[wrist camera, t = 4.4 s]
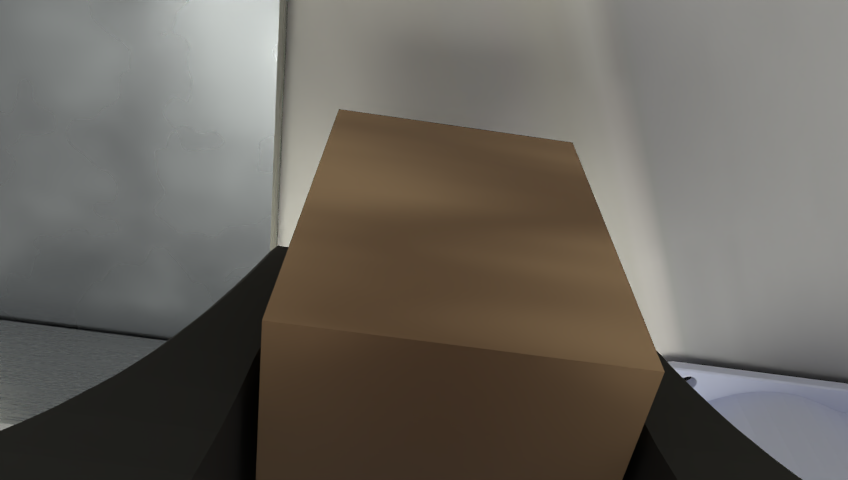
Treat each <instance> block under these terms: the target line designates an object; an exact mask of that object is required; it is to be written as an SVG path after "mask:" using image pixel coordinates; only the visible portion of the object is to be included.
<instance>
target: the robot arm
mask: <svg viewBox="0 0 848 480" xmlns="http://www.w3.org/2000/svg"><path fill="white" fill-rule="evenodd" d="M288 248H289V247H282V246H277V247H275V248H274V249H272V250H271V251H270V252H269V253H268V254H267V255H266V256H265V257H264V258H263V259H262V260H261V261H260V262H259V263H258V264H257V265H256V266H255V267H254V268H253V269H252V270H251V271H250V272H249V273H248V274H247V275H246V276H245V277H244V278H243V279H241V280H240V281H239V282H238V283H237V284H236V285H235V286H234V287H233V288H232V289H231V290H229V291H228V292H227V293H226V294H225V295H224V296H223V297H221V298H220V299H219V300H218V301H217V302H216V303H215V304H213V305H212V306H211V307H210V308H209V309H208V310H207V311H205V312H204V313H203V314H202V315H200V316H199V317H198V318H197V319H195V320H194V321H193V322H191V323H190V324H189V325H188V326H186V327H185V328H184V329H182V330H181V331H180V332H178V333H177V334H176V335H175V336H173V337H172V338H171V339H169V340H168V341H167V342H165V343H164V344H162V345H161V346H160V347H158V348H157V349H155V350H154V351H152V352H151V353H149V354H148V355H146V356H145V357H143V358H142V359H140V360H139V361H137V362H136V363H134V364H133V365H131V366H129V367H128V368H126V369H125V370H123V371H121V372H120V373H118V374H116V375H114V376H113V377H111V378H109V379H107V380H105V381H103V382H101V383H100V384H98V385H96V386H94V387H92V388H90V389H88V390H86V391H84V392H82V393H80V394H78V395H77V396H75V397H73V398H71V399H69V400H67V401H65V402H63V403H61V404H59V405H57V406H55V407H53V408H51V409H49V410H47V411H45V412H42V413H40V414H38V415H36V416H33V417H31V418H29V419H27V420H24V421H22V422H20V423H18V424H15V425H13V426H10V427H8V428H6V429H3V430H1V431H0V480H256V461H257V435H258V410H259V384H260V359H261V333H262V319H263V316H264V314H265V311H266V308H267V305H268V303H269V300H270V297H271V294H272V292H273V289H274V286H275V283H276V281H277V278H278V275H279V272H280V270H281V267H282V264H283V261H284V259H285V256H286V253H287V250H288ZM656 352H657V351H656ZM657 354H658V356H659V359H660V361H661V364H662V366H663V369H664V371H665V372H664V375H663V378H662V380H661V383H660V385H659V388H658V390H657V393H656V395H655V398H654V400H653V403H652V405H651V408H650V411H649V413H648V416H647V418H646V421H645V423H644V426H643V428H642V431H641V433H640V436H639V439H638V441H637V444H636V446H635V449H634V451H633V454H632V456H631V459H630V461H629V464H628V466H627V469H626V472H625V474H624V477H623V479H622V480H848V384H846V383H838V382H831V381H823V380H815V379H807V378H800V377H792V376H784V375H776V374H768V373H761V372H753V371H745V370H737V369H730V368H722V367H714V366H706V365H698V364H691V363H683V362H675V361H671V362H667V361H666V360H665V359H664V358H663V357H662V356H661V355H660V354H659V353H658V352H657ZM685 377H691V379H689V380H687V381H685V380H684V379H683V378H685Z"/></svg>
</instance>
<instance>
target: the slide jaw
mask: <svg viewBox="0 0 848 480" xmlns="http://www.w3.org/2000/svg"><path fill="white" fill-rule="evenodd" d="M165 342H167V341H164V340H157V339H149V338H141V337H133V336H125V335H117V334H109V333H101V332H93V331H85V330H77V329H69V328H61V327H53V326H45V325H37V324H29V323H21V322H13V321H5V320H0V431H1V430H3V429H6V428H8V427H10V426H13V425H15V424H18V423H20V422H22V421H24V420H27V419H29V418H31V417H33V416H36V415H38V414H40V413H42V412H45V411H47V410H49V409H51V408H53V407H55V406H57V405H59V404H61V403H63V402H65V401H67V400H69V399H71V398H73V397H75V396H77V395H78V394H80V393H82V392H84V391H86V390H88V389H90V388H92V387H94V386H96V385H98V384H100V383H101V382H103V381H105V380H107V379H109V378H111V377H113V376H114V375H116V374H118V373H120V372H121V371H123V370H125V369H126V368H128V367H129V366H131V365H133V364H134V363H136V362H137V361H139V360H140V359H142V358H143V357H145V356H146V355H148V354H149V353H151V352H152V351H154V350H155V349H157V348H158V347H160V346H161V345H162V344H164V343H165Z"/></svg>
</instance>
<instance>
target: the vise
mask: <svg viewBox="0 0 848 480" xmlns="http://www.w3.org/2000/svg"><path fill="white" fill-rule="evenodd" d="M286 21H287V0H0V320H5V321H13V322H21V323H29V324H37V325H45V326H53V327H61V328H69V329H77V330H85V331H93V332H101V333H109V334H117V335H125V336H133V337H141V338H149V339H157V340H164V341H168V340H169V339H171V338H172V337H173V336H175V335H176V334H177V333H178V332H180V331H181V330H182V329H184V328H185V327H186V326H188V325H189V324H190V323H191V322H193V321H194V320H195V319H197V318H198V317H199V316H200V315H202V314H203V313H204V312H205V311H207V310H208V309H209V308H210V307H211V306H212V305H213V304H215V303H216V302H217V301H218V300H219V299H220V298H221V297H223V296H224V295H225V294H226V293H227V292H228V291H229V290H231V289H232V288H233V287H234V286H235V285H236V284H237V283H238V282H239V281H240V280H241V279H243V278H244V277H245V276H246V275H247V274H248V273H249V272H250V271H251V270H252V269H253V268H254V267H255V266H256V265H257V264H258V263H259V262H260V261H261V260H262V259H263V258H264V257H265V256H266V255H267V254H268V253H269V252H270V251H271V250H272V249H274V248H275V247H277V228H278V205H279V182H280V159H281V136H282V113H283V90H284V67H285V44H286Z"/></svg>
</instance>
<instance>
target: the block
mask: <svg viewBox="0 0 848 480" xmlns="http://www.w3.org/2000/svg"><path fill="white" fill-rule="evenodd" d="M664 372H665V371H664V369H663V366H662V364H661V361H660V359H659V356H658V354H657V352H656V349H655V347H654V344H653V342H652V339H651V337H650V334H649V332H648V329H647V327H646V324H645V322H644V319H643V317H642V314H641V312H640V309H639V307H638V304H637V302H636V299H635V297H634V294H633V292H632V289H631V287H630V284H629V282H628V279H627V277H626V275H625V272H624V270H623V267H622V265H621V262H620V260H619V257H618V255H617V252H616V250H615V247H614V245H613V242H612V240H611V237H610V235H609V232H608V230H607V227H606V225H605V222H604V220H603V217H602V215H601V212H600V210H599V207H598V205H597V202H596V200H595V197H594V195H593V193H592V190H591V188H590V185H589V183H588V180H587V178H586V175H585V173H584V170H583V168H582V165H581V163H580V160H579V158H578V155H577V153H576V150H575V148H574V145H573V143H571V142H564V141H557V140H550V139H543V138H536V137H529V136H522V135H515V134H508V133H501V132H494V131H487V130H480V129H473V128H466V127H459V126H452V125H445V124H438V123H431V122H424V121H417V120H410V119H403V118H397V117H390V116H383V115H376V114H369V113H362V112H355V111H348V110H341V109H339V111H338V113H337V116H336V119H335V122H334V124H333V127H332V130H331V133H330V135H329V138H328V141H327V144H326V146H325V149H324V152H323V155H322V157H321V160H320V163H319V166H318V168H317V171H316V174H315V176H314V179H313V182H312V185H311V187H310V190H309V193H308V196H307V198H306V201H305V204H304V207H303V209H302V212H301V215H300V218H299V220H298V223H297V226H296V229H295V231H294V234H293V237H292V240H291V242H290V245H289V248H288V250H287V253H286V256H285V259H284V261H283V264H282V267H281V270H280V272H279V275H278V278H277V281H276V283H275V286H274V289H273V292H272V294H271V297H270V300H269V303H268V305H267V308H266V311H265V314H264V316H263V319H262V333H261V359H260V384H259V410H258V435H257V461H256V480H622V479H623V477H624V474H625V472H626V469H627V466H628V464H629V461H630V459H631V456H632V454H633V451H634V449H635V446H636V444H637V441H638V439H639V436H640V433H641V431H642V428H643V426H644V423H645V421H646V418H647V416H648V413H649V411H650V408H651V405H652V403H653V400H654V398H655V395H656V393H657V390H658V388H659V385H660V383H661V380H662V378H663V375H664Z"/></svg>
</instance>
